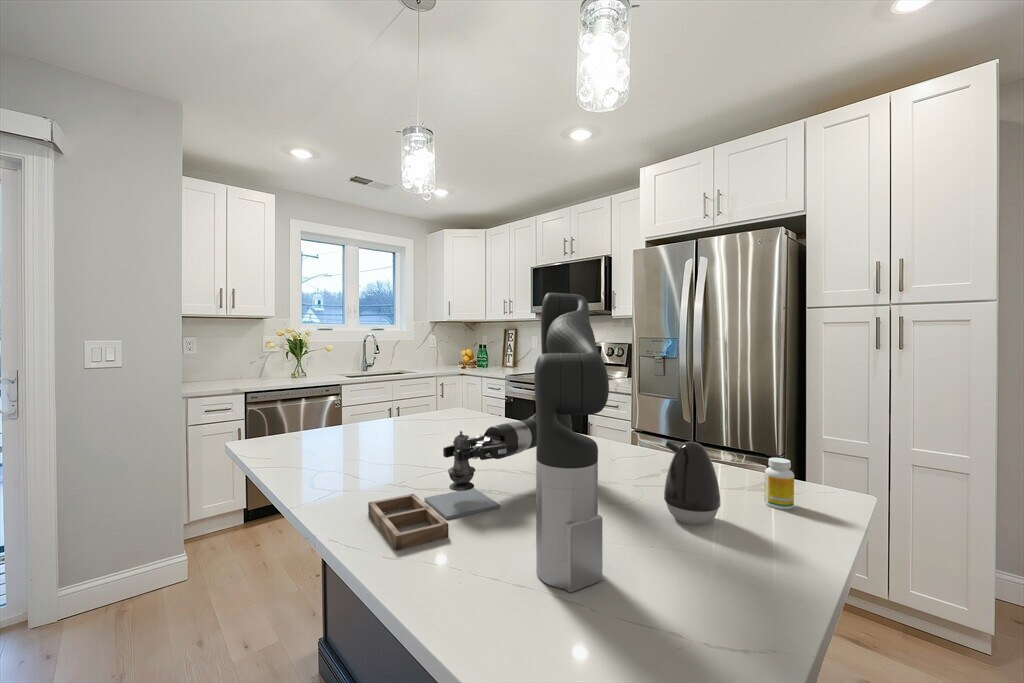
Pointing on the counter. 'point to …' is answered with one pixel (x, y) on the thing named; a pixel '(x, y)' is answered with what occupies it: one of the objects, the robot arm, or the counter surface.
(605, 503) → the counter surface
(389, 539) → the spice caddy
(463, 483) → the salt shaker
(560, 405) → the robot arm
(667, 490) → the pump dispenser
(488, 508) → the slate tile
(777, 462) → the supplement bottle
